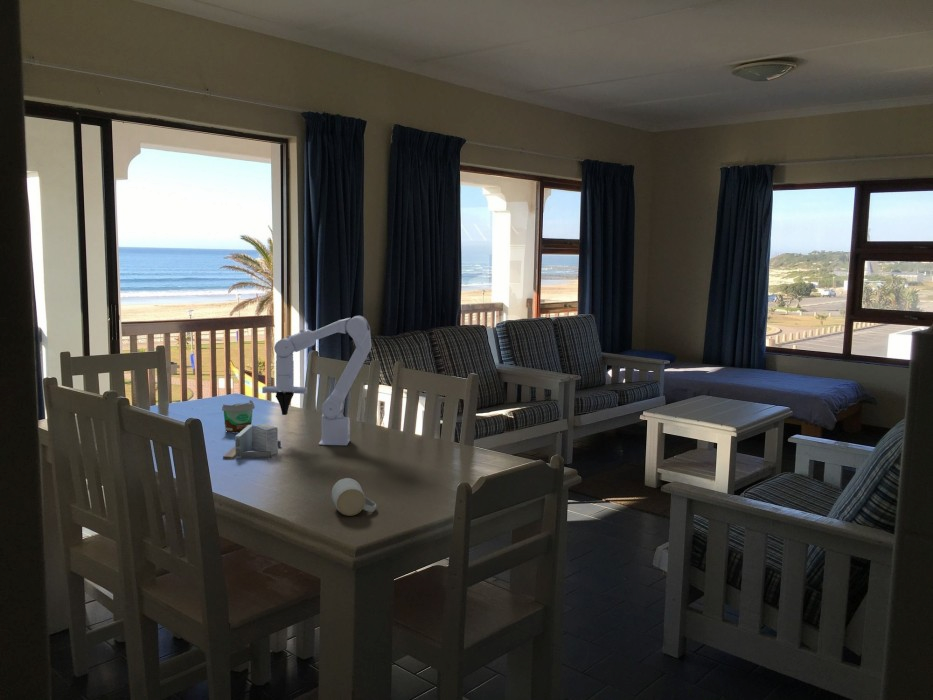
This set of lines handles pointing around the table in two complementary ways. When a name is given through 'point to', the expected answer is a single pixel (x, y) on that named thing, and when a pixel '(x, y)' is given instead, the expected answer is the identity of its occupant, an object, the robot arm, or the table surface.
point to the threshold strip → (230, 454)
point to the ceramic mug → (351, 498)
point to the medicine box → (265, 438)
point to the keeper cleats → (257, 453)
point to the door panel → (243, 440)
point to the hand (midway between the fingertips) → (284, 414)
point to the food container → (237, 416)
